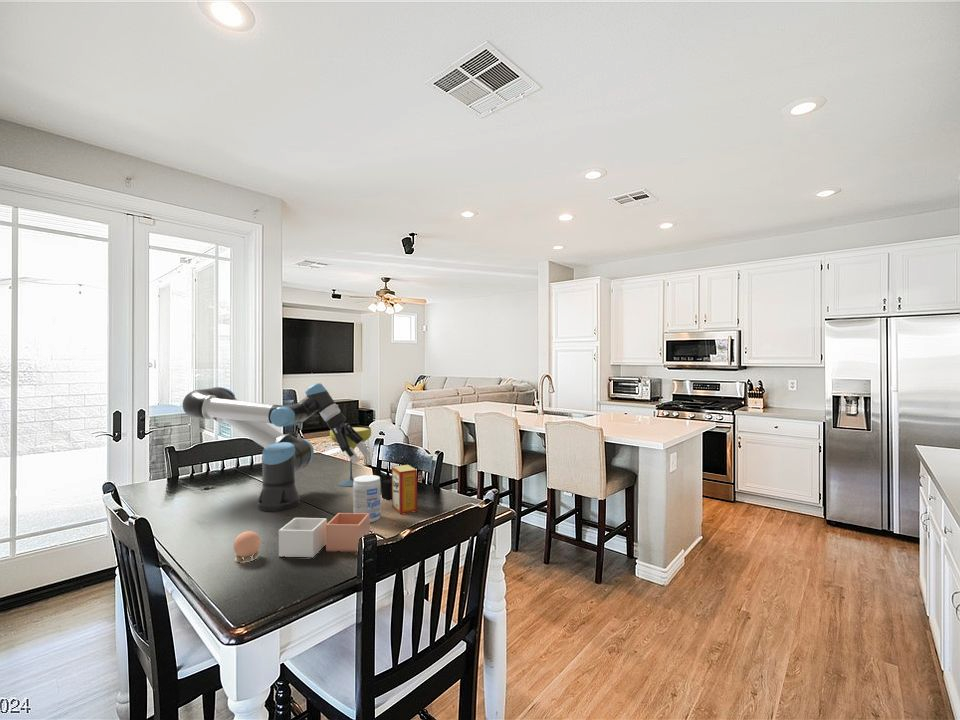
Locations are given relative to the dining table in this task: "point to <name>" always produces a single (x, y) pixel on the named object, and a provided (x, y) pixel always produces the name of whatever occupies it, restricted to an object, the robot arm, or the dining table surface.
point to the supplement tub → (367, 496)
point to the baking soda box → (404, 488)
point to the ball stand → (245, 558)
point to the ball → (247, 544)
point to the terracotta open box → (346, 531)
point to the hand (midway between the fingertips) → (362, 458)
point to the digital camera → (387, 489)
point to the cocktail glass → (365, 434)
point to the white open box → (302, 537)
